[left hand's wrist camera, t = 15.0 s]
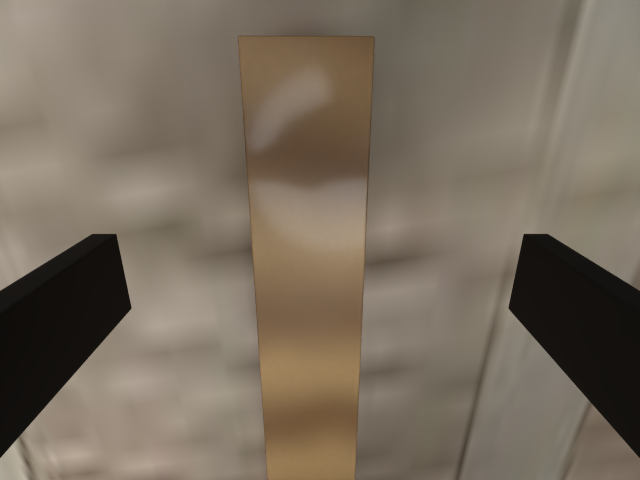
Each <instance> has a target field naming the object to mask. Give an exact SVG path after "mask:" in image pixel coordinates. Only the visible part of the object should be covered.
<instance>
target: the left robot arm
mask: <svg viewBox="0 0 640 480" xmlns="http://www.w3.org/2000/svg"><path fill="white" fill-rule="evenodd" d="M130 310H131V303H130V298H129V294H128V289H127V284H126V279H125V274H124V269H123V265H122V260H121V255H120V250H119V245H118V240H117V236H116V234H92V235H90V236H88V237H87V238H85V239H84V240H82V241H80V242H79V243H77V244H75V245H74V246H72V247H71V248H69V249H67V250H66V251H64V252H63V253H61V254H59V255H58V256H56V257H54V258H53V259H51V260H50V261H48V262H46V263H45V264H43V265H41V266H40V267H38V268H37V269H35V270H33V271H32V272H30V273H28V274H27V275H25V276H24V277H22V278H20V279H19V280H17V281H16V282H14V283H12V284H11V285H9V286H7V287H6V288H4V289H3V290H1V291H0V458H1V457H2V455H3V454H4V453H5V452H6V451H7V450H8V449H9V447H10V446H11V445H12V444H13V443H14V442H15V441H16V439H17V438H18V437H19V436H20V435H21V434H22V433H23V431H24V430H25V429H26V428H27V427H28V426H29V425H30V423H31V422H32V421H33V420H34V419H35V418H36V417H37V416H38V414H39V413H40V412H41V411H42V410H43V409H44V408H45V406H46V405H47V404H48V403H49V402H50V401H51V400H52V398H53V397H54V396H55V395H56V394H57V393H58V392H59V390H60V389H61V388H62V387H63V386H64V385H65V384H66V382H67V381H68V380H69V379H70V378H71V377H72V376H73V374H74V373H75V372H76V371H77V370H78V369H79V368H80V367H81V365H82V364H83V363H84V362H85V361H86V360H87V359H88V357H89V356H90V355H91V354H92V353H93V352H94V351H95V349H96V348H97V347H98V346H99V345H100V344H101V343H102V341H103V340H104V339H105V338H106V337H107V336H108V335H109V333H110V332H111V331H112V330H113V329H114V328H115V327H116V326H117V324H118V323H119V322H120V321H121V320H122V319H123V318H124V316H125V315H126V314H127V313H128V312H129V311H130ZM509 310H510V311H511V312H512V313H513V314H514V315H515V316H516V318H517V319H518V320H519V321H520V322H521V323H522V324H523V326H524V327H525V328H526V329H527V330H528V331H529V332H530V333H531V335H532V336H533V337H534V338H535V339H536V340H537V341H538V343H539V344H540V345H541V346H542V347H543V348H544V349H545V351H546V352H547V353H548V354H549V355H550V356H551V357H552V359H553V360H554V361H555V362H556V363H557V364H558V365H559V367H560V368H561V369H562V370H563V371H564V372H565V373H566V374H567V376H568V377H569V378H570V379H571V380H572V381H573V382H574V384H575V385H576V386H577V387H578V388H579V389H580V390H581V392H582V393H583V394H584V395H585V396H586V397H587V398H588V400H589V401H590V402H591V403H592V404H593V405H594V406H595V408H596V409H597V410H598V411H599V412H600V413H601V414H602V416H603V417H604V418H605V419H606V420H607V421H608V422H609V423H610V425H611V426H612V427H613V428H614V429H615V430H616V431H617V433H618V434H619V435H620V436H621V437H622V438H623V439H624V441H625V442H626V443H627V444H628V445H629V446H630V447H631V449H632V450H633V451H634V452H635V453H636V454H637V455H638V457H639V458H640V291H639V290H637V289H636V288H634V287H633V286H631V285H629V284H628V283H626V282H624V281H623V280H621V279H620V278H618V277H616V276H615V275H613V274H612V273H610V272H608V271H607V270H605V269H603V268H602V267H600V266H599V265H597V264H595V263H594V262H592V261H590V260H589V259H587V258H586V257H584V256H582V255H581V254H579V253H577V252H576V251H574V250H573V249H571V248H569V247H568V246H566V245H565V244H563V243H561V242H560V241H558V240H556V239H555V238H553V237H552V236H550V235H548V234H524V236H523V240H522V245H521V250H520V255H519V260H518V265H517V269H516V274H515V279H514V284H513V289H512V294H511V298H510V303H509Z"/></svg>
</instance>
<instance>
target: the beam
mask: <svg viewBox="0 0 640 480" xmlns="http://www.w3.org/2000/svg"><path fill="white" fill-rule="evenodd" d="M374 40H375V38H374V37H373V36H238V44H239V59H240V74H241V89H242V103H243V118H244V133H245V148H246V163H247V178H248V193H249V208H250V223H251V238H252V253H253V268H254V283H255V298H256V313H257V328H258V343H259V358H260V373H261V388H262V403H263V418H264V433H265V448H266V463H267V478H268V480H355V465H356V443H357V421H358V398H359V376H360V353H361V331H362V309H363V286H364V264H365V241H366V219H367V197H368V174H369V152H370V130H371V107H372V85H373V62H374Z"/></svg>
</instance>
